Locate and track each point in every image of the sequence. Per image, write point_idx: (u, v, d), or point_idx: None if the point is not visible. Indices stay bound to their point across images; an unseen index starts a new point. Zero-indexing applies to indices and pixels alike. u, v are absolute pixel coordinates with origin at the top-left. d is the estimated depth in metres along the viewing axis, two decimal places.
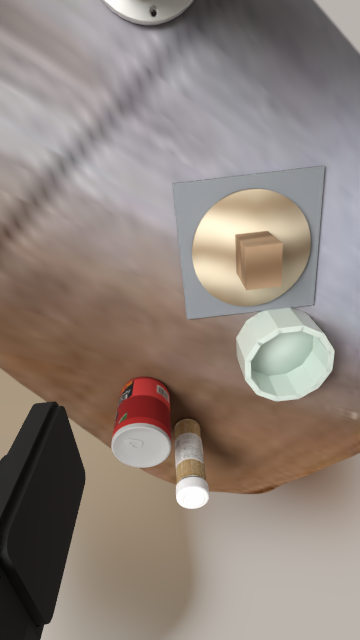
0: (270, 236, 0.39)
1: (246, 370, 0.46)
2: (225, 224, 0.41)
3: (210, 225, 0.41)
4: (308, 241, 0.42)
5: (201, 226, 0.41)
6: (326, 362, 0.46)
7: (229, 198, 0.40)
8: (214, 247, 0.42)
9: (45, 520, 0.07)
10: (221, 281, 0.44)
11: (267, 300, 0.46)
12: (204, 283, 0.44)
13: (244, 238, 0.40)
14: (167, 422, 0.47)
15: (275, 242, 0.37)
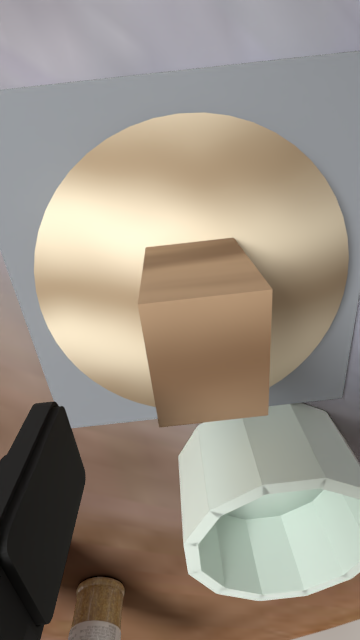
0: (236, 257, 0.13)
1: (189, 559, 0.20)
2: (115, 219, 0.15)
3: (72, 222, 0.15)
4: (341, 266, 0.16)
5: (47, 224, 0.15)
6: None
7: (117, 140, 0.13)
8: (93, 280, 0.16)
9: (45, 520, 0.07)
10: (125, 359, 0.18)
11: None
12: (83, 364, 0.18)
13: (159, 262, 0.13)
14: None
15: (247, 285, 0.10)
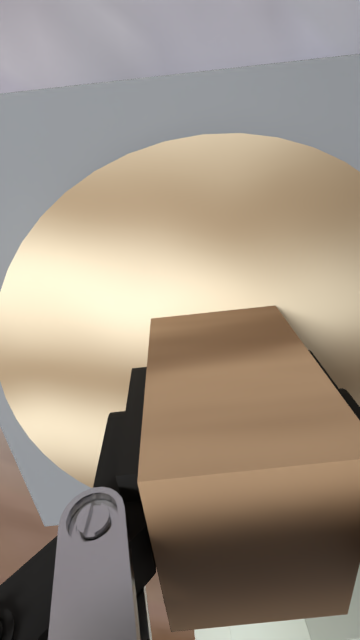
0: (291, 353, 0.08)
1: None
2: (107, 282, 0.10)
3: (46, 286, 0.10)
4: None
5: (10, 289, 0.10)
6: None
7: (110, 173, 0.09)
8: (78, 361, 0.11)
9: None
10: None
11: None
12: (65, 462, 0.13)
13: (172, 356, 0.09)
14: None
15: (332, 437, 0.06)
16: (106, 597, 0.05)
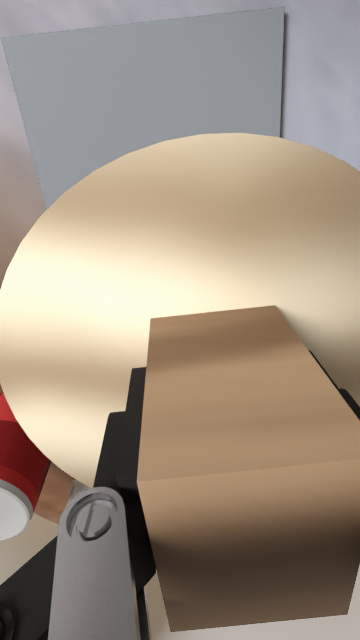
0: (291, 353, 0.08)
1: None
2: (107, 281, 0.10)
3: (46, 286, 0.10)
4: None
5: (10, 289, 0.10)
6: None
7: (109, 173, 0.09)
8: (78, 361, 0.11)
9: None
10: None
11: None
12: (64, 462, 0.13)
13: (172, 356, 0.09)
14: (32, 467, 0.28)
15: (332, 437, 0.06)
16: (106, 597, 0.05)
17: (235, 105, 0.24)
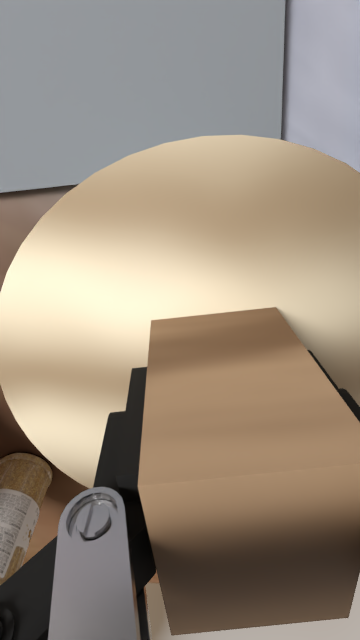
0: (292, 355, 0.08)
1: None
2: (107, 283, 0.10)
3: (46, 288, 0.10)
4: None
5: (10, 291, 0.10)
6: None
7: (110, 175, 0.09)
8: (78, 363, 0.11)
9: None
10: None
11: None
12: (65, 464, 0.13)
13: (172, 358, 0.09)
14: None
15: (333, 440, 0.06)
16: (106, 597, 0.05)
17: None
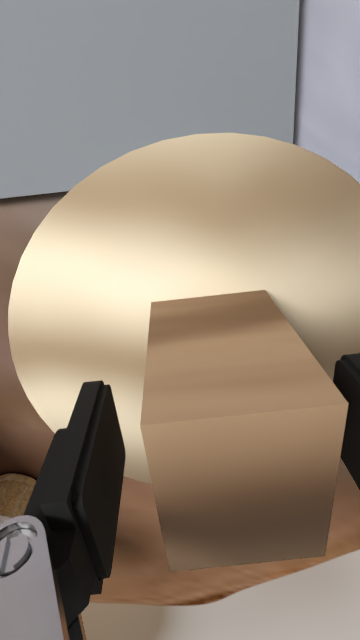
0: (276, 328, 0.09)
1: None
2: (112, 268, 0.11)
3: (56, 271, 0.11)
4: None
5: (23, 275, 0.11)
6: None
7: (114, 169, 0.10)
8: (84, 342, 0.12)
9: (103, 485, 0.08)
10: (125, 433, 0.14)
11: None
12: None
13: (170, 332, 0.10)
14: None
15: (305, 390, 0.07)
16: (31, 628, 0.05)
17: None
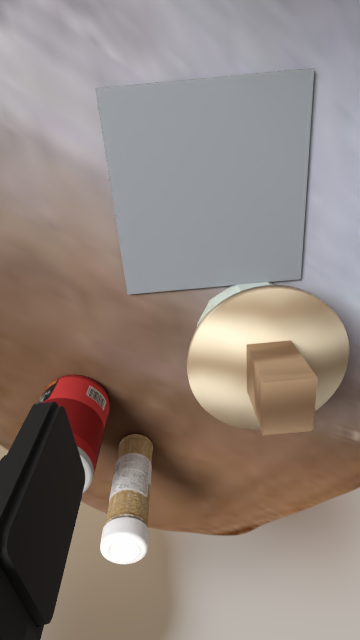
0: (297, 356, 0.28)
1: None
2: (233, 331, 0.30)
3: (212, 332, 0.30)
4: (346, 354, 0.31)
5: (200, 334, 0.30)
6: None
7: (240, 299, 0.29)
8: (217, 359, 0.31)
9: (45, 520, 0.07)
10: (226, 400, 0.33)
11: None
12: (203, 402, 0.33)
13: (260, 357, 0.28)
14: (92, 437, 0.33)
15: (306, 375, 0.25)
16: None
17: (273, 140, 0.30)
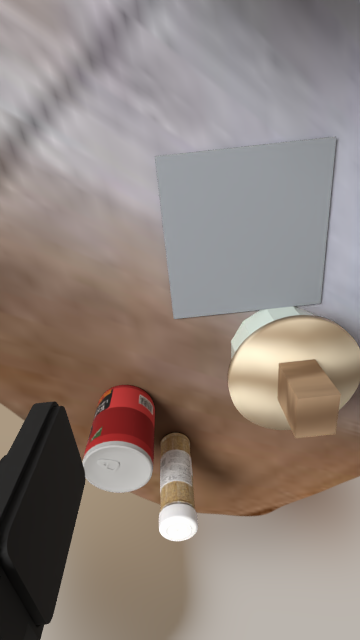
0: (322, 374, 0.34)
1: None
2: (268, 353, 0.36)
3: (251, 354, 0.36)
4: (359, 369, 0.38)
5: (241, 355, 0.36)
6: None
7: (275, 328, 0.35)
8: (254, 375, 0.37)
9: (45, 520, 0.07)
10: (260, 407, 0.40)
11: None
12: (241, 409, 0.40)
13: (291, 375, 0.35)
14: (149, 439, 0.40)
15: (331, 391, 0.32)
16: None
17: (301, 193, 0.35)
